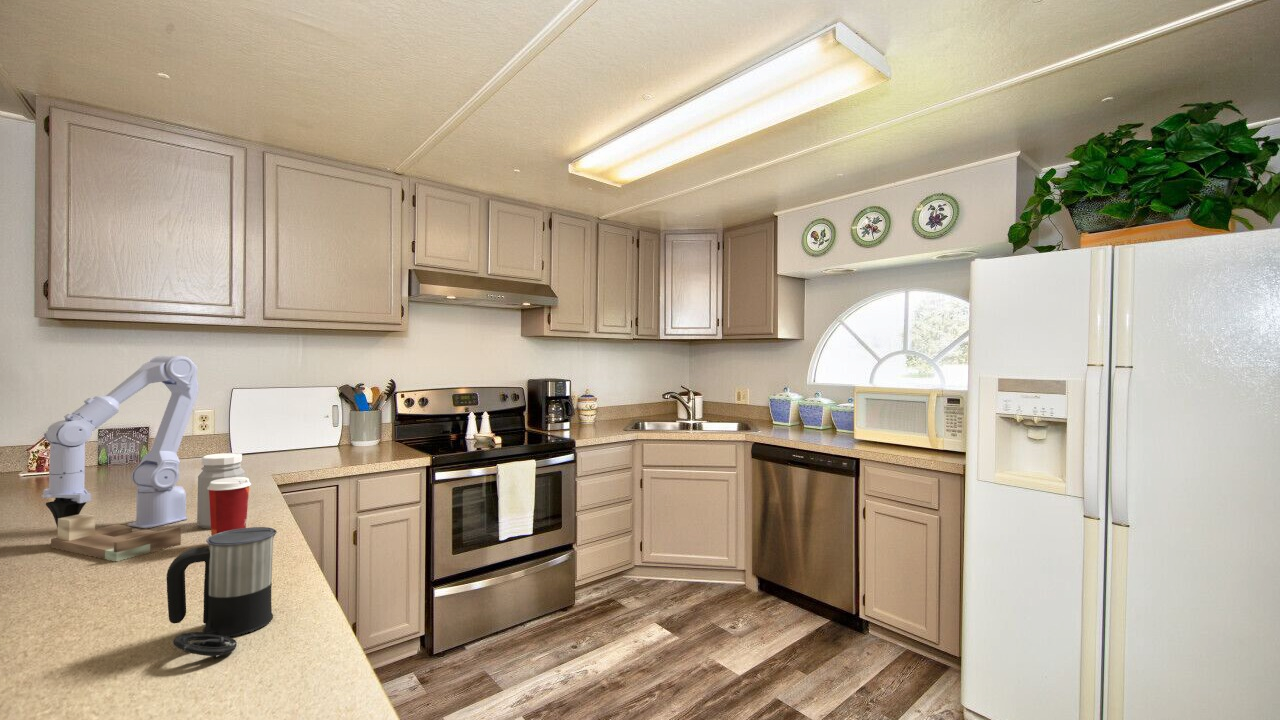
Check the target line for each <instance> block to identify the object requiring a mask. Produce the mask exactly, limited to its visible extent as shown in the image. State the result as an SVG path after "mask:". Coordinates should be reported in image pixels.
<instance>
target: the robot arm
mask: <svg viewBox="0 0 1280 720" xmlns="http://www.w3.org/2000/svg"><path fill="white" fill-rule="evenodd" d="M198 370H199V368H198V366H197V365H196V364H195V363H194V361H193V360H192V359H190V358H189V357H187V356H184V355H177V356H173V355H172V356H168V355H158V356H154V357H153V358H151V359H150V361H147V362H145V363H144V364H142V365H141V366H140V367H139V368H138V369H137V370H135V372H133V373H132V374H131V375H130V376H128V377H127V378H126V379H124V380H123V381H122V382H121V383H120V384H118V385H117V386H116V387H115V388H113V389H112V390H111V391H110V392H108V393H107V394H106V395H97V396H94V397H89V398H86V399H85V400H83V403H84V404H83V405H81V406H80V407H78V408H77V409H75V410H74V411H73V412H71V413H67V414H66V415H64V416H63V418H64V419H63V420H58V421H54V422H53V423H52V424H50V426H48V428H47V431H46V432H44V433H43V437H44V439H45V440H46V442H47V443H49V462H48V465H49V468H48V476H49V477H48V488H44V489H43V494H41V498H43V499H49V498H53V499H54V500H53V501H47V502H46V503H45V506H46V507H47V509H48V510H49V511H50V512H51V514H52V516H53V518H54V523H55V524H56V529H58V518H63V517H68V516H73V515H78V514H81V512H82V509H83V508H84V506H85V505H86V504H87V503H88V502H91V501H92V493H91V492H88V490H87V489H86V488H85V486H86V485H85V480H86V476H85V475H86V474H85V472H86V470H85V469H86V468H85V467H86V442H88V441H90V439H91V437H92V433H93V432H94V431H95V430H96V429H98V428H99V427H101V426H103V424H105V423H106V422H107V421H109V420H110V419H111V418H112V417H114V416H115V415H116V414H118V413H119V411H120V405H121V404H122V403H124V402H125V401H127V400H128V399H130V398H131V397H132V396H134V395H136V394H137V393H138V392H140V391H141V390H143V389H144V388H146V387H148V386H149V385H150V384H155V383H162V384H163V385H165V386H166V387H167V390H169V391H170V392H171V395H170V396H169V397H170V398H169V399H168V403H167V405H166V407H165V410H164V414H163V416H162V419H161V421H160V425H159V427H158V430H157V432H156V435H155V437H154V440H153V444H152V446H151V449H150V450H149V451H148V452H147V453H146V454H145V455H144V456H142V458H141V461H140V462H139V463H138V465H137V466H136V467H135V468H134V469H133V470H132V473H131V481H132V482H133V484H135V485H136V486H137V487H136V514H135V516H136V517H135V518H136V519H135V521H133V522H129V523H127V525H126V526H129V527H136V528H140V529H144V530H145V529H146V530H148V529H151V528H155V527H159V526H164V525H169V524H171V523H177V522H180V521H181V522H182V521H185V520H188V519H189V517H188V516H187V493H186V490H185V489H184V487H183V486H181V485H176V484H177V483H178V481H179V479H180V471H179V469H180V463H181V461H180V459H179V456H178V454H177V453H178V450H179V448H180V446H181V442H182V440H183V437H184V434H185V431H186V428H187V425H188V422H189V420H190V417H191V415H192V411H193V409H194V407H195V404H196V400H197V399H198V395H199V391H200V386H199V381H198V377H197V373H198Z"/></svg>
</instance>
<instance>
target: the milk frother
mask: <svg viewBox="0 0 1280 720" xmlns="http://www.w3.org/2000/svg"><path fill="white" fill-rule="evenodd" d="M277 533H278V532H277V529H274V528H273V527H267V526H266V527H265V526H257V527H256V526H253V527H251V526H250V527H246V528H241V529H235V530H229V531H224V532H221V533H217V534H215V535H212V536H211V535H209V536H208V538H207V539H206V540H205V541H206V543H207V544H208V545H203V546H199V547H197V546H196V547H193V548H190V549H187V550H185V551H183V552H181V553H180V554H179V555H178V556H176V557H175V558H174V559H173V561H171V563H170V565H169V567H168V570H167V572H166V594H167V596H166V597H167V598H166V599H167V610H168V614H167V615H168V621H169V622H170V623H171V624H179V623H181V622H182V621H183V620H184V619H185V617H186V615H187V597H186V569H187V568H188V567H189V566H191V564H195V563H201V562H202V563H203V562H204V563H205V565H204V581H203V617H202V623H203V624H204V628H203V629H202V630H203V631H195V632H194V631H193V632H184V633H180V634H178V635H176V636H175V637H174V638H173V641H172V644H173V646H174V647H176V648H177V649H179V650H181V651H183V652H186V653H190V654H192V655H193V654H194V655H197V656H206V657H213V659H214V658H215V659H216V658H217V656H224V655H228V654H230V653H232V652H234V651H235V650H236V647H237V640H235V639H234V638H232V636H233V637H238V636H242V635H246V634H249V633H248V632H250V633H253V632H255V631H258V630H260V629H262V628H264V627H265V626H267V625H268V624H270V623H271V620H272V621H273V619H274V614H273V612H272V611H273V610H272V585H273V582H272V579H273V577H272V576H273V554H274V553H273V552H274V538H275V536H276V534H277ZM269 622H270V623H269ZM266 624H267V625H266ZM263 626H264V627H263ZM261 627H262V628H261ZM259 628H260V629H259ZM254 630H255V631H254ZM245 633H246V634H245ZM241 634H242V635H241ZM230 636H231V637H230Z"/></svg>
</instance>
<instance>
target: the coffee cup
mask: <svg viewBox="0 0 1280 720" xmlns="http://www.w3.org/2000/svg"><path fill="white" fill-rule="evenodd" d="M251 485H252V483H251V482H250V479H249V477H246V476H245V477H232V478H223V479H217V480H214V481H211V482H210V484H209V487H208V488H207V489H208V490H209V501H210V520H211V529H210V533H211V535H210V536H212V535H215V534H217V533H221V532H224V531H229V530H235V529H241V528H247V518H248V509H249V508H248V506H249V495H250V486H251Z"/></svg>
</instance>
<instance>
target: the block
mask: <svg viewBox="0 0 1280 720" xmlns="http://www.w3.org/2000/svg"><path fill="white" fill-rule="evenodd" d="M95 529H96V515H95V514H94V515H93V514H89V513H79V514H78V515H73V516H68V517H63V518H58V528H57V538H58V539H63V540H68V541H70V540H74V539H79V538H83V537H88V536H92V535H95Z"/></svg>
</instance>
